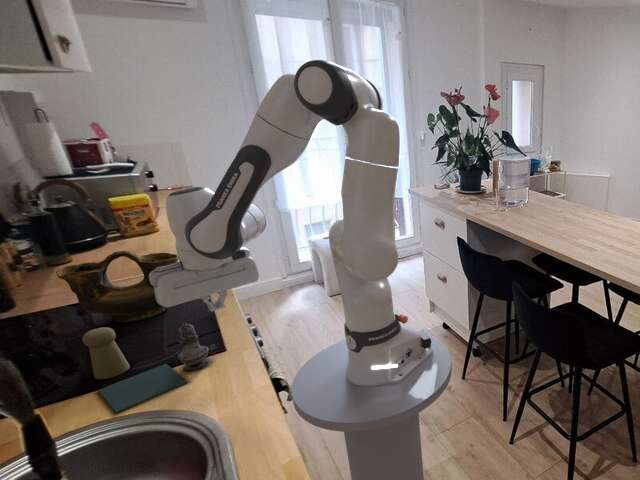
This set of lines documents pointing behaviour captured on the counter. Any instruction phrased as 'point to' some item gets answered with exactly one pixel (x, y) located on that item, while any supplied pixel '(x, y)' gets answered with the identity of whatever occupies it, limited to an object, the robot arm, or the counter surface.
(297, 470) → the counter surface
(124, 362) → the cork
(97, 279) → the pottery vessel
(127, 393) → the felt mat
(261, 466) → the counter surface
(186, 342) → the grey stone statuette
